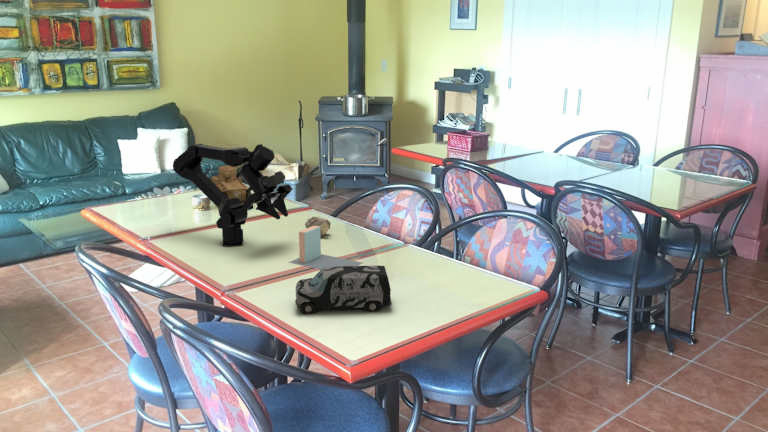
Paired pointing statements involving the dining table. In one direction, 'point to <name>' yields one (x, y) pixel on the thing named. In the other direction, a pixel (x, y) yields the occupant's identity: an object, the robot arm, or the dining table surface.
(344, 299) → the toy car
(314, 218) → the rock
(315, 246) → the block
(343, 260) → the mat
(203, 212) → the dining table surface
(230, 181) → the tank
